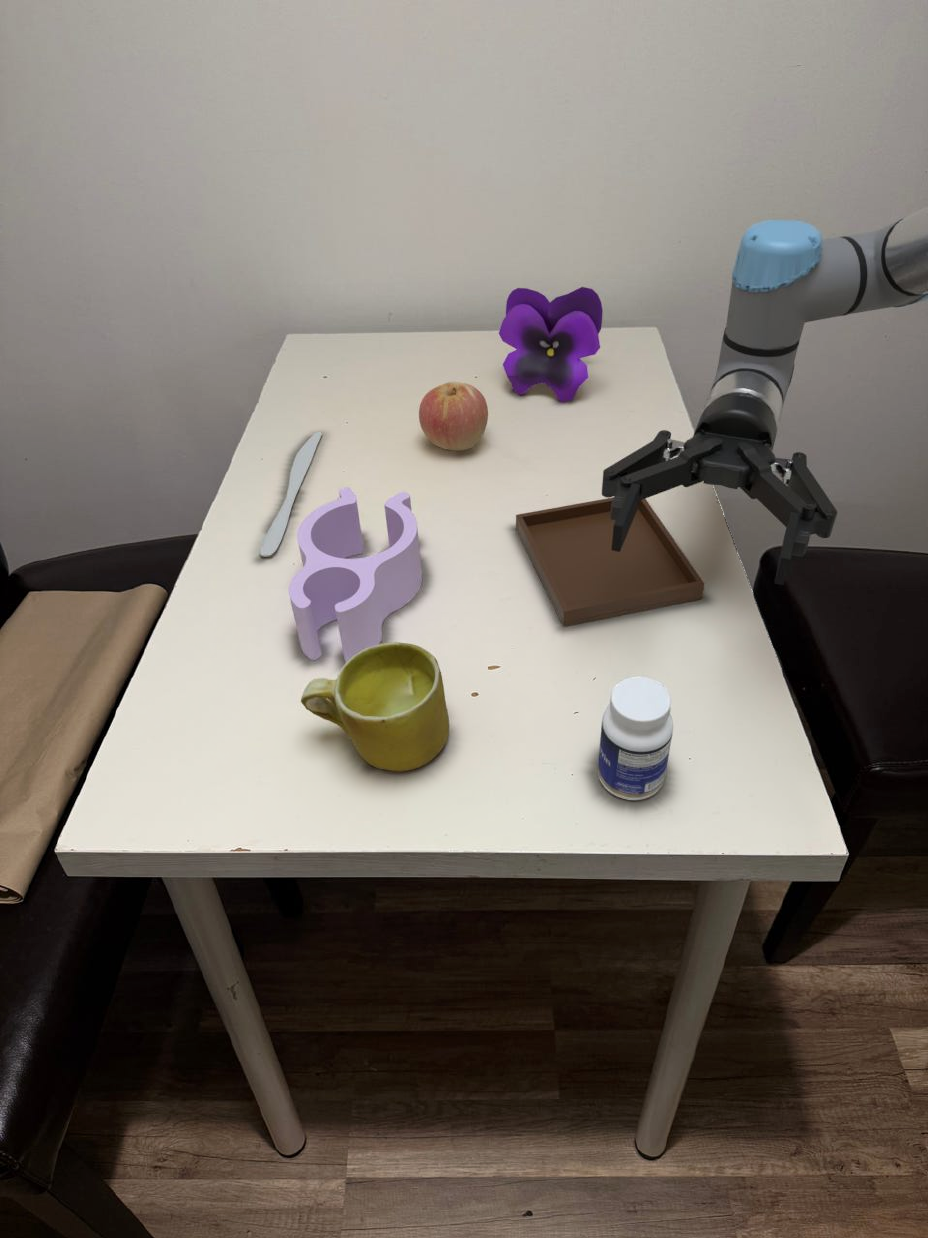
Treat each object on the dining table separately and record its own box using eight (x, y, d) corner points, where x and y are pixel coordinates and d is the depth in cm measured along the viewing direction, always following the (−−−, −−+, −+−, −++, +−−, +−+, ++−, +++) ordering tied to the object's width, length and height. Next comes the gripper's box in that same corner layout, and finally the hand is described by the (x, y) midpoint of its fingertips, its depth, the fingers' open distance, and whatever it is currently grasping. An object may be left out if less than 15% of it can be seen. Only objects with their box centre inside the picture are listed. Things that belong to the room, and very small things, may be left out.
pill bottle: (596, 747, 79) (604, 669, 72) (662, 751, 78) (675, 672, 72) (597, 801, 75) (605, 723, 68) (666, 805, 74) (681, 727, 67)
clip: (391, 668, 87) (384, 616, 82) (271, 655, 89) (257, 603, 85) (435, 544, 101) (431, 493, 97) (330, 535, 104) (321, 485, 99)
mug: (476, 682, 83) (441, 628, 75) (453, 787, 78) (414, 742, 70) (358, 677, 87) (313, 626, 79) (330, 776, 82) (279, 732, 74)
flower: (515, 391, 137) (486, 389, 125) (531, 289, 133) (502, 277, 121) (607, 406, 133) (586, 406, 121) (627, 300, 129) (607, 289, 116)
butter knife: (248, 553, 101) (273, 553, 100) (306, 431, 120) (327, 431, 120) (250, 557, 101) (275, 557, 100) (307, 435, 121) (328, 434, 120)
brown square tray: (702, 599, 93) (705, 583, 91) (563, 626, 91) (563, 611, 89) (639, 506, 105) (641, 492, 104) (515, 529, 103) (515, 514, 102)
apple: (474, 466, 113) (472, 409, 108) (410, 454, 116) (405, 398, 110) (498, 432, 119) (497, 377, 114) (437, 421, 122) (433, 367, 116)
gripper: (861, 480, 87) (845, 621, 73) (611, 439, 94) (551, 559, 80) (883, 412, 82) (870, 549, 68) (616, 373, 89) (554, 489, 75)
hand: (697, 555), depth 74 cm, fingers open, 13 cm apart
